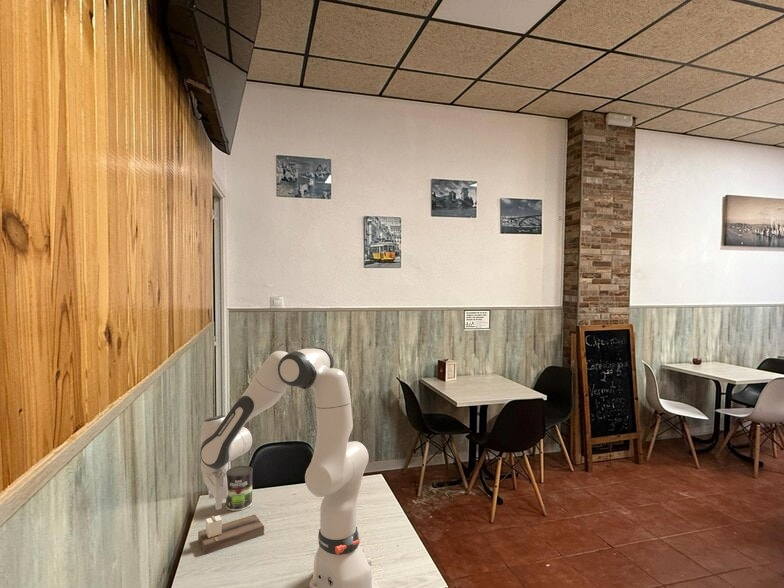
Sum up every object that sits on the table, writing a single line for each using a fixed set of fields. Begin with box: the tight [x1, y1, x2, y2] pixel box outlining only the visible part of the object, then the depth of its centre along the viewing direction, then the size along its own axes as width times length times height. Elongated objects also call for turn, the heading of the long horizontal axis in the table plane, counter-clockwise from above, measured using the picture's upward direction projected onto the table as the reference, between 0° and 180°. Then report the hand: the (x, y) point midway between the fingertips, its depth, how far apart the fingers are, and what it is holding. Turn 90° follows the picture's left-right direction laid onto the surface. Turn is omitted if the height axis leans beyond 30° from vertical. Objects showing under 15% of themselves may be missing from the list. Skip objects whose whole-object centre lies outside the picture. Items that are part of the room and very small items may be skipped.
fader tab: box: [205, 514, 223, 538], centre depth 144 cm, size 4×4×5 cm
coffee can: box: [225, 465, 254, 512], centre depth 170 cm, size 10×10×14 cm
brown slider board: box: [197, 514, 265, 555], centre depth 147 cm, size 10×20×3 cm, turn 126°
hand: (214, 503), depth 144 cm, fingers open, 8 cm apart
